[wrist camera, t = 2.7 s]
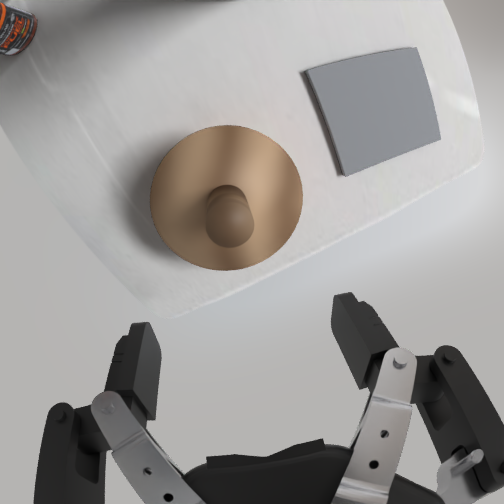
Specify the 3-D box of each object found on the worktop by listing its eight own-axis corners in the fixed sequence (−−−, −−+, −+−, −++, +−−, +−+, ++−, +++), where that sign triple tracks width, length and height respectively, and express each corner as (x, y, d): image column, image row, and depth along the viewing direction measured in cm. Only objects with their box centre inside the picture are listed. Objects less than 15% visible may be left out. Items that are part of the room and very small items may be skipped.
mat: (412, 47, 24) (416, 47, 23) (437, 138, 30) (441, 139, 30) (304, 71, 25) (307, 70, 25) (342, 175, 32) (345, 176, 31)
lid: (295, 118, 23) (319, 123, 18) (300, 254, 30) (318, 287, 25) (139, 139, 22) (118, 150, 17) (169, 272, 29) (162, 310, 24)
